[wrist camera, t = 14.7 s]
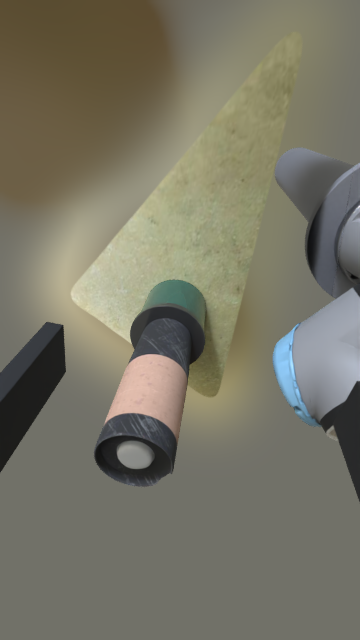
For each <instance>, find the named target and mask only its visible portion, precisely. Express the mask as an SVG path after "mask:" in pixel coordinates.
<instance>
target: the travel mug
mask: <svg viewBox="0 0 360 640" xmlns="http://www.w3.org/2000/svg"><path fill="white" fill-rule="evenodd" d="M191 345H192V339H191V335H190V333H189V331H188V329H187V328H186V327H185V326H184V325H183V324H181V323H180V322H178V321H176V320H173V319H168V318H162V319H157V320H154V321H152V322H151V323H149V324H148V325H147V326H146V328H145V329H144V331H143V333H142V335H141V337H140V339H139V341H138V344H137V346H136V348H135V350H134V352H133V355H132V357H131V359H130V361H129V363H128V365H127V367H126V370H125V373H124V375H123V378H122V380H121V383H120V385H119V388H118V390H117V393H116V396H115V398H114V401H113V403H112V406H111V408H110V411H109V413H108V416H107V418H106V421H105V423H104V426H103V429H102V431H101V434H100V436H99V439H98V441H97V444H96V447H95V451H94V457H95V461H96V463H97V465H98V466H99V468H100V469H101V470H102V471H103V472H104V473H105V474H106V475H108V476H109V477H111V478H113V479H114V480H116V481H119V482H121V483H124V484H128V485H132V486H142V487H145V486H153V485H155V484H156V483H157V482H158V481H159V480H160V479H161V478H162V477H164V476H165V475H167V474H169V473H171V474H172V472H173V469H174V462H175V456H176V450H177V444H178V438H179V432H180V426H181V419H182V414H183V408H184V402H185V395H186V390H187V383H188V375H189V365H190V356H191Z"/></svg>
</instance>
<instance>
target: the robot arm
mask: <svg viewBox="0 0 360 640" xmlns="http://www.w3.org/2000/svg"><path fill="white" fill-rule="evenodd" d="M334 252H335V258H336V261H337V263H338V265H339V267H340V269H341V270H342V272H343V273H344V274H345V275H346V277H347V278H348V279H349V280H351V281H352V282H353V283H355V284H356V286H354V287H353V288H351V289H350V290H348V291H347V292H345V293H344V294H342V295H341V296H340V297H338V298H337V299H335V300H334V301H332V302H331V303H330V304H328V305H327V306H325V307H324V308H322V309H321V310H319V311H318V312H317V313H315V314H314V315H312V316H311V317H309V318H308V319H306V320H305V321H304V322H302V323H299V324H297V325H296V326H295V327H294V328H293V330H292V331H291V332H289V333H288V334H287V335H286V336H284V337H283V338H282V339H280V340H279V341H278V343H277V344H276V346H275V349H274V353H273V366H274V371H275V375H276V378H277V381H278V383H279V386H280V388H281V391H282V393H283V395H284V396H285V398H286V400H287V402H288V403H289V405H290V406H292V407H294V410H295V413H296V414H297V415H298V417H299V418H300V419H301V420H303V421H304V422H305V423H307V424H308V425H310V426H314V427H315V426H318V427H323V429H324V431H325V433H326V434H327V436H328V437H329V438H332V439H334V440H337V441H339V443H340V446H341V449H342V452H343V455H344V458H345V461H346V464H347V467H348V470H349V472H350V475H351V478H352V481H353V484H354V487H355V490H356V493H357V496H358V498H359V501H360V200H359V201H358V202H357V203H356V204H355V205H354V206H353V207H352V208H351V209H350V210H349V211H348V213H347V214H346V215H345V217H344V218H343V220H342V222H341V224H340V225H339V228H338V230H337V233H336V237H335V243H334ZM64 348H65V347H64V329H63V325H60V324H55V323H50V322H46V323H45V324H44V325H43V327H42V328H41V329H40V330H39V331H38V332H37V333H36V334H35V335H34V336H33V338H32V339H31V340H30V341H29V342H28V343H27V344H26V345H25V346H24V347H23V349H22V350H21V351H20V352H19V353H18V354H17V355H16V356H15V357H14V358H13V360H12V361H11V362H10V363H9V364H8V365H7V366H6V367H5V368H4V369H3V371H2V372H1V373H0V472H1V471H2V469H3V468H4V466H5V465H6V463H7V461H8V460H9V458H10V457H11V455H12V454H13V452H14V450H15V449H16V448H17V446H18V445H19V443H20V441H21V440H22V438H23V436H24V435H25V434H26V432H27V431H28V429H29V427H30V426H31V425H32V423H33V421H34V420H35V418H36V417H37V415H38V414H39V412H40V411H41V409H42V408H43V406H44V405H45V403H46V402H47V400H48V398H49V397H50V395H51V393H52V392H53V391H54V389H55V388H56V386H57V385H58V383H59V382H60V380H61V378H62V377H63V375H64V374H65V372H66V368H65V367H66V366H65V349H64Z"/></svg>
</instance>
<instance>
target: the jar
mask: <svg viewBox="0 0 360 640" xmlns="http://www.w3.org/2000/svg"><path fill="white" fill-rule="evenodd" d="M205 314H206V303H205V300H204V297H203V296H202V294H201V293H200V291H199V290H198V289H197V288H196V287H194V286H193V285H191V284H190V283H187V282H185V281H181V280H168V281H164V282H161V283H159V284H158V285H156V286H155V287H154V288H153V289H152V290H151V291H150V293H149V295H148V297H147V300H146V302H145V304H144V306H143V308H142V311H141V312H140V313H139V314H138V315H137V317H136V318H135V320H134V321H133V324H132V326H131V330H130V337H131V342H132V345H133V347H134V349H135V348H136V346H137V344H138V341H139V339H140V337H141V335H142V333H143V331H144V329H145V328H146V326H147V325H148V324H149V323H151V322H152V321H154V320H157V319H162V318H168V319H173V320H176V321H178V322H180V323H181V324H183V325H184V326H185V327H186V328H187V329H188V331H189V333H190V335H191V339H192V345H191V356H190V364H192V363H193V362H194V361H196V360H197V359H198V358H199V356H200V355H201V354H202V352H203V349H204V346H205V332H204V323H205Z"/></svg>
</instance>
